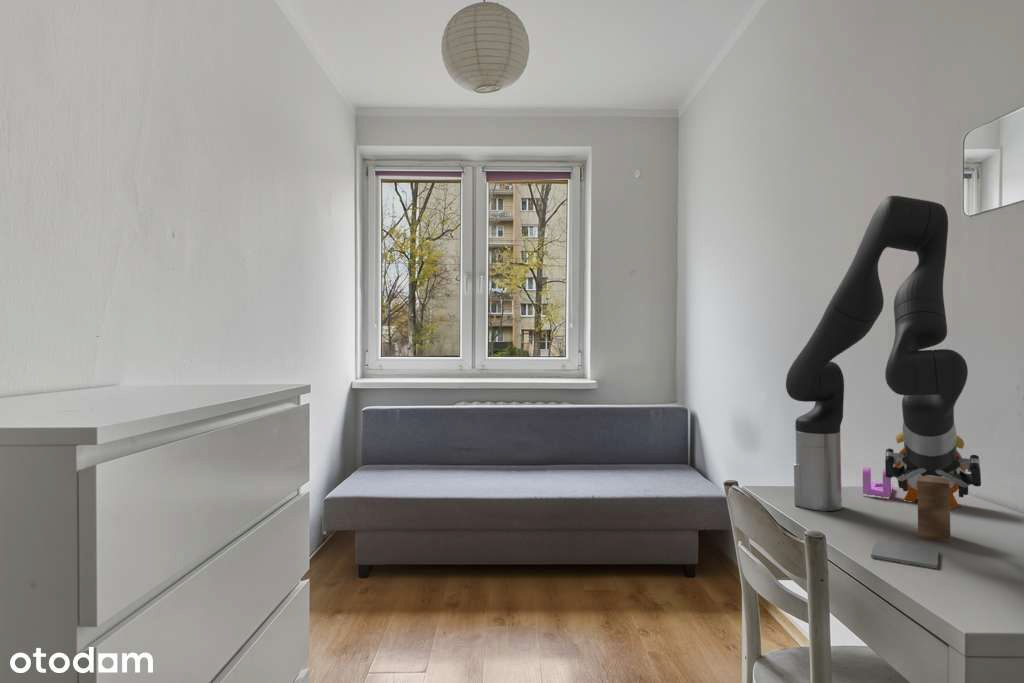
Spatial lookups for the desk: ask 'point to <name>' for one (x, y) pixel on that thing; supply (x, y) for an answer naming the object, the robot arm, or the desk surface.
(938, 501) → the walnut block
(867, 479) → the bracket
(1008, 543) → the desk surface
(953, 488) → the alarm clock
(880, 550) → the slate pad
